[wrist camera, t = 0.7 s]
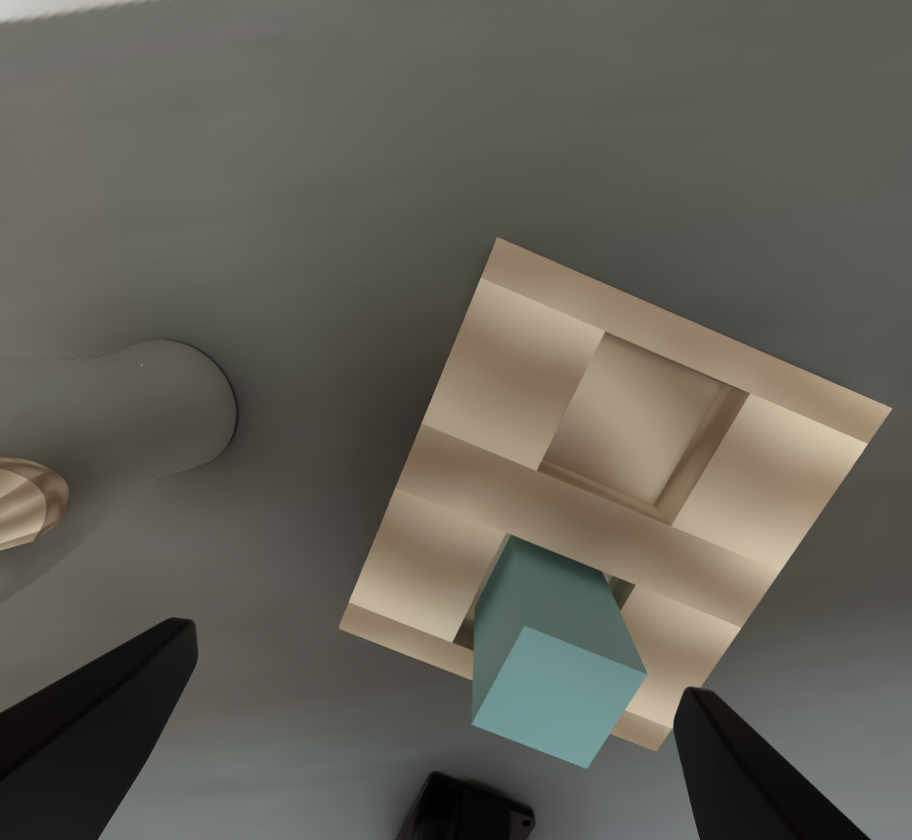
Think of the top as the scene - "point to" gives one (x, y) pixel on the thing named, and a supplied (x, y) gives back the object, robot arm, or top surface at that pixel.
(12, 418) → the beer glass
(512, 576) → the teal block
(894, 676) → the top surface
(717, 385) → the pocket board
